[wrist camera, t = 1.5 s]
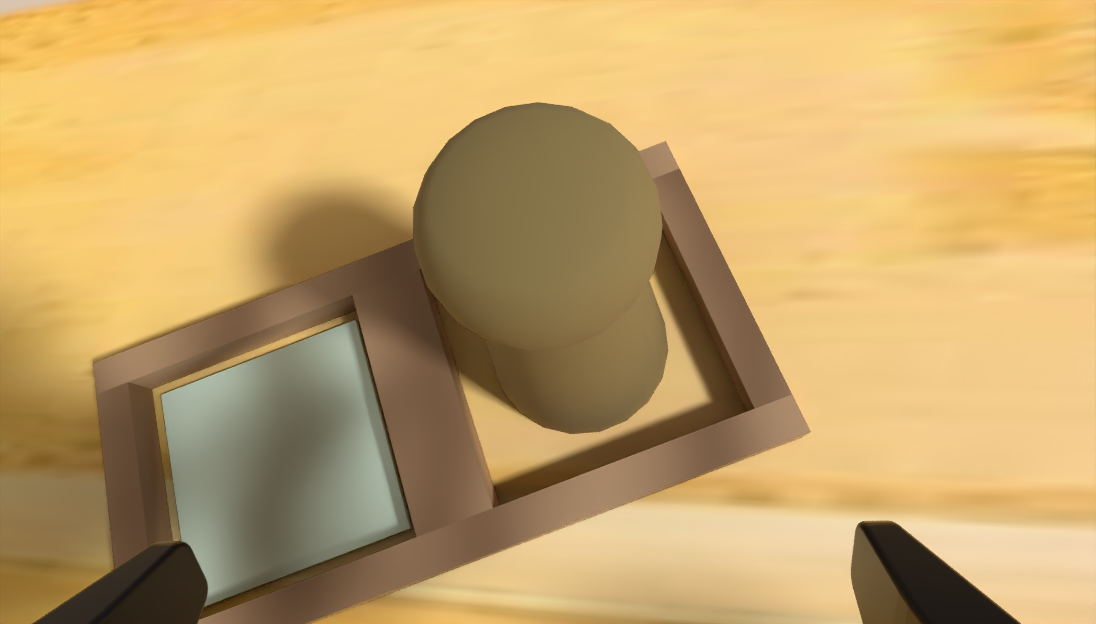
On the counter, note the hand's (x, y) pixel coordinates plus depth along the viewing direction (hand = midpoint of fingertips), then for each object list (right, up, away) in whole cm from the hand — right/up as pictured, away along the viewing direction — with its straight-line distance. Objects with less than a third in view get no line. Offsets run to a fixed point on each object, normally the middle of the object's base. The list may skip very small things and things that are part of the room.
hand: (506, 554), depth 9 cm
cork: (+2, +2, +14) cm, 14 cm away
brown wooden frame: (-4, 0, +14) cm, 14 cm away
